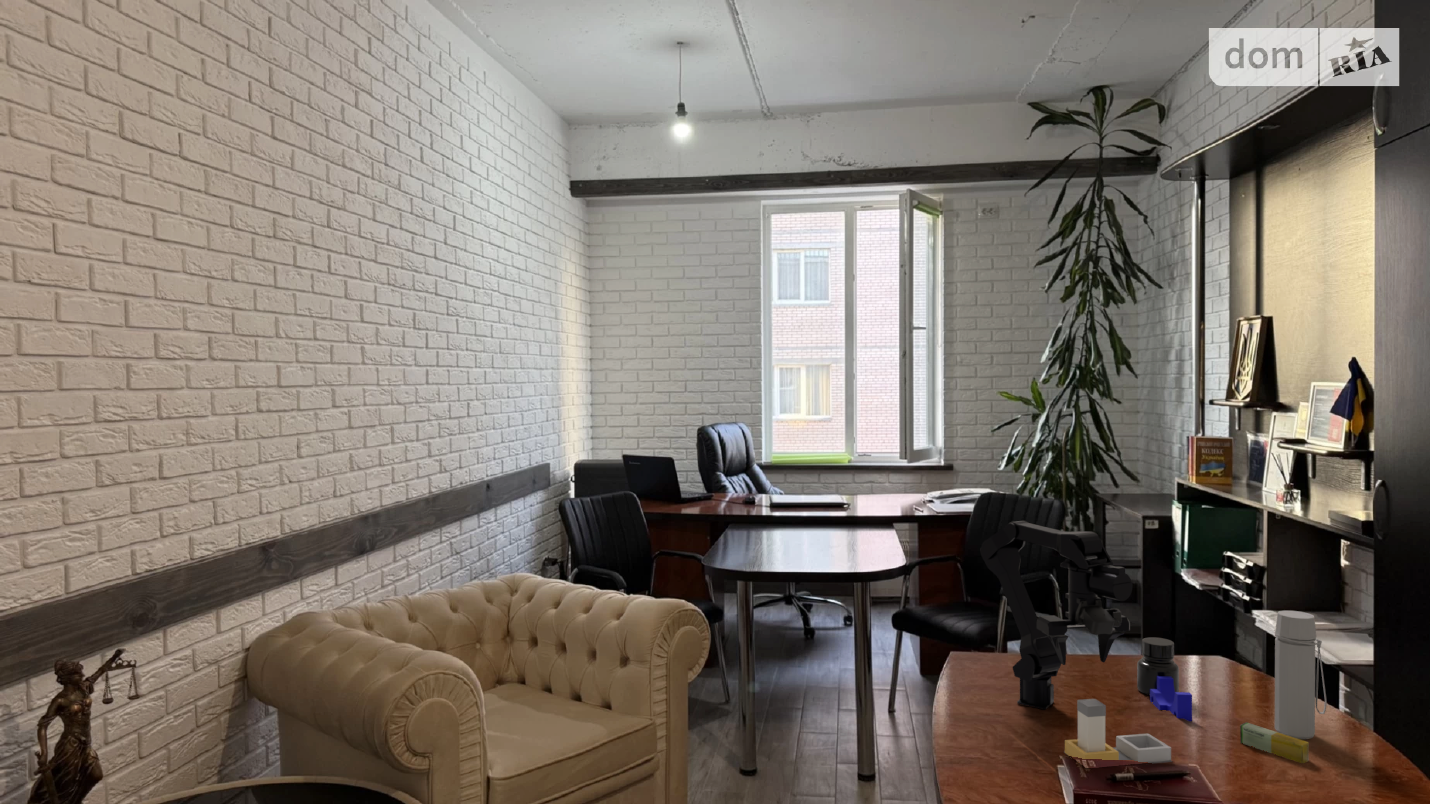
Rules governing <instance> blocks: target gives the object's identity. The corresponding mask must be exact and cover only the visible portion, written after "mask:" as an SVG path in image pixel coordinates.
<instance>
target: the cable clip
mask: <svg viewBox="0 0 1430 804" xmlns="http://www.w3.org/2000/svg"><path fill="white" fill-rule="evenodd" d="M1149 701H1150V702H1151V703H1152V702H1153V703H1152V704H1153V706H1154V707H1155V708H1156V709H1157V710H1159V711H1160V710H1166V711H1165V712H1167V711H1169V712H1170V713H1171V714H1172V715H1174V716H1176V719H1182V720H1186V721H1187V722H1191V721H1192V722H1193V694H1192V693H1191V692H1186V691H1181V692H1180V691H1179V692H1175V690H1174V684H1173V678H1172V677H1168V676H1157V689H1150V695H1149Z"/></svg>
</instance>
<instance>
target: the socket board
mask: <svg viewBox="0 0 1430 804" xmlns="http://www.w3.org/2000/svg"><path fill="white" fill-rule="evenodd" d="M1063 753H1064V754H1065V755H1067V756H1068V757H1069V756H1072V757H1078V758H1082V759H1102V760H1134V761H1138V762H1148V763H1152V764H1163V763H1172V762H1173V760H1172V747H1171V746H1170V745H1168V744H1166V743H1165V742H1164V741H1161V740H1160V739H1158V738H1156V737H1155V736H1153V735H1151V734H1150V733H1138V734H1126V735H1116V737H1115V747H1112V746H1111V745H1109V744H1108V743H1106V742H1105V751H1101V752H1089V753H1086V752H1085V751H1083V750H1082V749H1080V748H1079V747H1078V738H1076V739H1065V740H1064V751H1063ZM1173 763H1174V762H1173Z"/></svg>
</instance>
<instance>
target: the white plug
mask: <svg viewBox="0 0 1430 804" xmlns="http://www.w3.org/2000/svg"><path fill="white" fill-rule="evenodd" d="M1076 701H1077V703H1076V705H1077V706H1076V707H1077V709H1076V710H1077V739H1078V747H1079V748H1080V749H1082V750H1083V751H1085V752H1086V753H1089V752H1101V751H1105V743H1106V717H1107V711H1106V710H1107V707H1106V706H1107V705H1106V704H1104V703H1103V702H1102V701H1100V700H1098V699H1096V698H1088V699H1087V698H1086V699H1077V700H1076Z"/></svg>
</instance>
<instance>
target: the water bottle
mask: <svg viewBox="0 0 1430 804" xmlns="http://www.w3.org/2000/svg"><path fill="white" fill-rule="evenodd" d="M1276 616H1277V617H1276V624H1275V625H1276V626H1275V631H1274V636H1275V639H1274V644H1275V645H1274V729H1275V732H1278V733H1281V734H1284V735H1288V736H1291V737H1294V738H1297V739H1300V740H1309V739H1313V738H1314V736H1315V733H1316V716H1315V715H1316V711H1317V713H1319V715H1325V713H1326V710H1327V694H1326V686H1325V678H1324V671H1323V663H1322V655H1321V646H1322V643H1323V642H1322V640H1321V639H1317V628H1316V621H1315V619H1316V618H1315V615H1313V614H1311V613H1307V612H1304V611H1297V610H1279V611H1278V612H1277V613H1276ZM1316 648H1317V659H1316ZM1316 660H1317V663H1316ZM1319 663H1320V664H1319ZM1319 665H1320V670H1321V677H1322V678H1321V680H1322V687H1323V695H1324V707H1323V711H1320V710H1319V709H1318V698H1319V695H1318V694H1319V693H1318V691H1319Z"/></svg>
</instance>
